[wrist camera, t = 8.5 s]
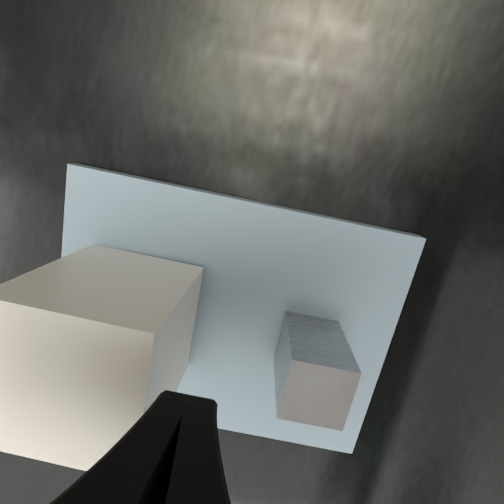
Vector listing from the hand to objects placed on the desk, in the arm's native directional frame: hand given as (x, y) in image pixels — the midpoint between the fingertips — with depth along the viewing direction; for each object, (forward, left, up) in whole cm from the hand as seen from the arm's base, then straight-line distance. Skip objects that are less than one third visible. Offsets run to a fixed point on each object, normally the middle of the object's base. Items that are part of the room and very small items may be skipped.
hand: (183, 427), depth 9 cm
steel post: (-4, +1, -9) cm, 10 cm away
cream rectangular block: (+4, +1, -8) cm, 9 cm away
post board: (0, +1, -9) cm, 9 cm away
